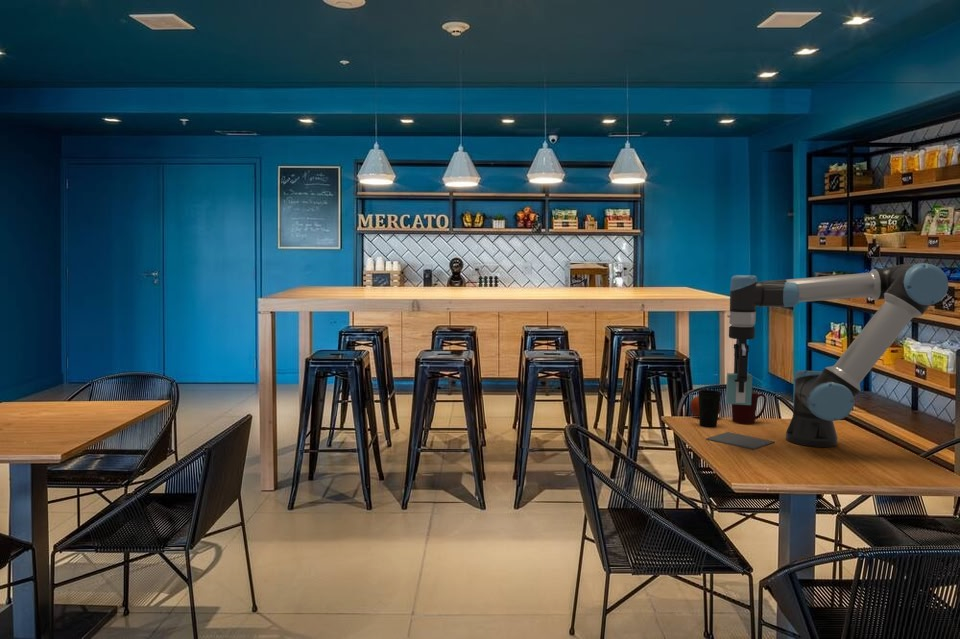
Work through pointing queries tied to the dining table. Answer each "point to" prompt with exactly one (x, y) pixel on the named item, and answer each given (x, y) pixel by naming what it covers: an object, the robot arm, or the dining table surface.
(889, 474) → the dining table surface
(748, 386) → the card box
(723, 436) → the mat
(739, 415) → the mug
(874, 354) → the robot arm
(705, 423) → the cup
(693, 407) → the fruit
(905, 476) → the dining table surface
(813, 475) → the dining table surface
